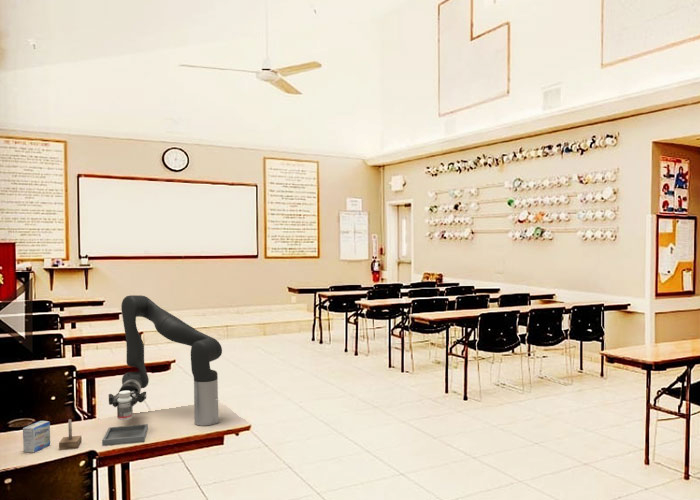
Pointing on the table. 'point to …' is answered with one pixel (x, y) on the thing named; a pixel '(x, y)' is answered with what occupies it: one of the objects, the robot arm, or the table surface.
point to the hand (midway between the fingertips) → (123, 403)
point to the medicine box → (36, 436)
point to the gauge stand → (70, 439)
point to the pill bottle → (124, 406)
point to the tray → (125, 435)
